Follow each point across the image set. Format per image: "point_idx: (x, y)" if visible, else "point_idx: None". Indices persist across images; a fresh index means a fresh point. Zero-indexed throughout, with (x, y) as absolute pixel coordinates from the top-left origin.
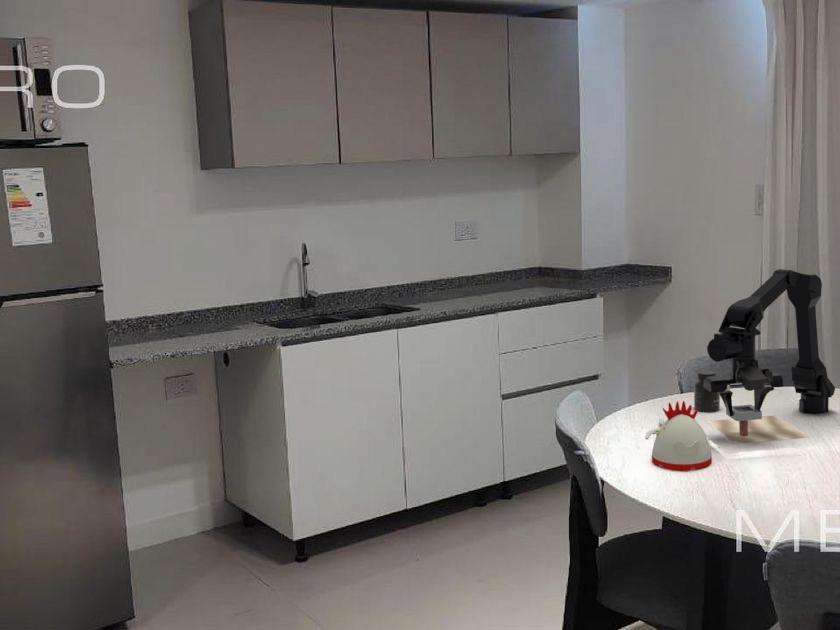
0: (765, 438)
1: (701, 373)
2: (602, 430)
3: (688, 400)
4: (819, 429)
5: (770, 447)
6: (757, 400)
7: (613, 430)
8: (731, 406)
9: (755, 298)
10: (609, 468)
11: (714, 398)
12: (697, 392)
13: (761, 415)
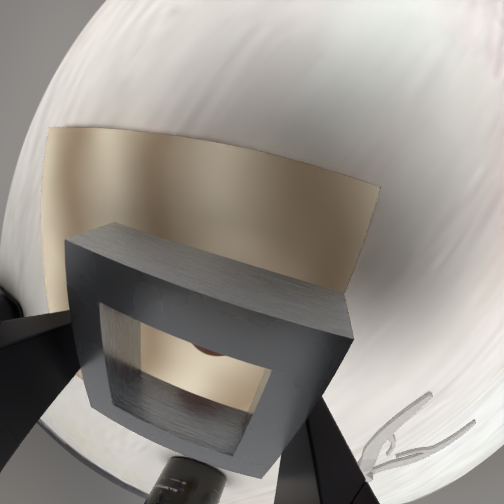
0: (177, 178)
1: None
2: (459, 471)
3: None
4: (16, 235)
5: (200, 127)
6: (25, 370)
7: (449, 470)
8: (323, 459)
9: None
10: None
11: (172, 496)
12: None
13: (94, 230)
